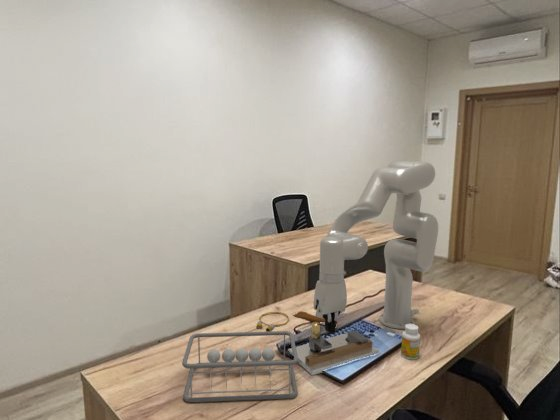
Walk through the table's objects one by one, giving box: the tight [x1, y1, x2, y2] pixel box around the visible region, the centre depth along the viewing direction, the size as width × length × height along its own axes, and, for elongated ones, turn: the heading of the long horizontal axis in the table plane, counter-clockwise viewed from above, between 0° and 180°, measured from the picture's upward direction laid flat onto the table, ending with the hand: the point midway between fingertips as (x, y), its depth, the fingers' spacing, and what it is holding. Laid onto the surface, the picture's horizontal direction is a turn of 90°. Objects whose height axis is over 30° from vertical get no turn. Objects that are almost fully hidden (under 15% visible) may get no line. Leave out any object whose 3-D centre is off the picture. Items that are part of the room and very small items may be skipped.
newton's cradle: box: [181, 330, 299, 403], centre depth 111 cm, size 30×10×18 cm
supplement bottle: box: [400, 323, 421, 360], centre depth 126 cm, size 5×5×10 cm
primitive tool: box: [292, 310, 338, 324], centre depth 151 cm, size 19×6×4 cm, turn 48°
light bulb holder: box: [308, 322, 332, 351], centre depth 124 cm, size 3×8×8 cm, turn 28°
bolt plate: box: [287, 330, 380, 376], centre depth 127 cm, size 25×14×4 cm, turn 119°
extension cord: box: [256, 311, 290, 332], centre depth 150 cm, size 12×16×2 cm
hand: (330, 331), depth 128 cm, fingers closed
